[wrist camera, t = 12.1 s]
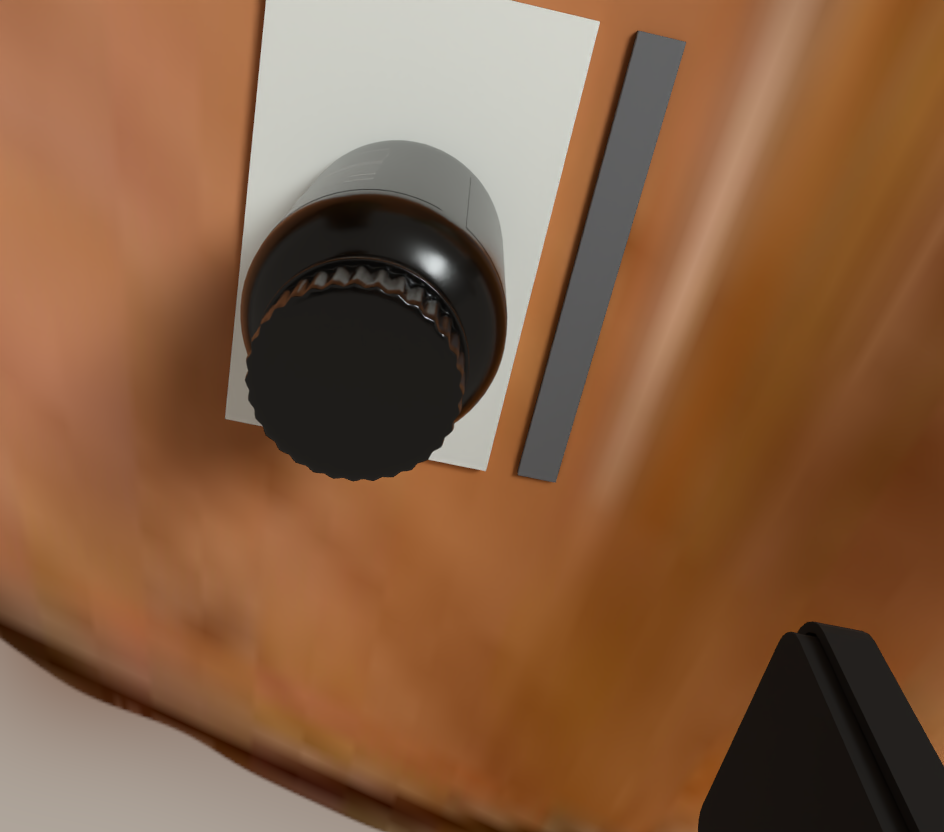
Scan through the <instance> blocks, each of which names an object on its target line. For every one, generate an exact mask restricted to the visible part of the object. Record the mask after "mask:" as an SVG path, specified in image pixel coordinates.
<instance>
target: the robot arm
mask: <svg viewBox="0 0 944 832" xmlns="http://www.w3.org/2000/svg"><path fill="white" fill-rule="evenodd" d="M698 832H944V766H943V764H942V762H941V761H940V759H939V757H938V755H937V753H936V752H935V750H934V748H933V746H932V744H931V742H930V741H929V739H928V737H927V735H926V733H925V732H924V730H923V728H922V726H921V724H920V723H919V721H918V719H917V717H916V715H915V714H914V712H913V710H912V708H911V706H910V704H909V703H908V701H907V699H906V697H905V695H904V694H903V692H902V690H901V688H900V686H899V685H898V683H897V681H896V679H895V677H894V676H893V674H892V672H891V670H890V668H889V666H888V665H887V663H886V661H885V659H884V657H883V656H882V654H881V652H880V650H879V648H878V647H877V645H876V643H875V641H874V640H873V639H872V637H871V636H870V635H869V634H867V633H865V632H863V631H859V630H854V629H849V628H844V627H839V626H833V625H828V624H823V623H818V622H807V623H806V624H804V625H803V626H802V627H801V628H800V629H799V631H798V633H795V632H787V633H786V634H785V635H783V636H782V638H781V640H780V641H779V643H778V645H777V647H776V649H775V652H774V654H773V656H772V658H771V660H770V662H769V664H768V667H767V669H766V671H765V673H764V675H763V677H762V679H761V682H760V684H759V686H758V688H757V690H756V692H755V694H754V696H753V699H752V701H751V703H750V705H749V707H748V709H747V711H746V714H745V716H744V718H743V720H742V722H741V724H740V726H739V728H738V731H737V733H736V735H735V737H734V739H733V741H732V743H731V746H730V748H729V750H728V752H727V754H726V756H725V758H724V761H723V763H722V765H721V767H720V769H719V771H718V773H717V775H716V778H715V780H714V782H713V784H712V786H711V788H710V790H709V793H708V795H707V797H706V799H705V801H704V803H703V806H702V808H701V811H700V816H699V824H698Z"/></svg>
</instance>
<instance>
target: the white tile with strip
mask: <svg viewBox="0 0 944 832" xmlns="http://www.w3.org/2000/svg"><path fill="white" fill-rule="evenodd" d="M599 24H600V22H599V21H595V20H591V19H587V18H583V17H579V16H574V15H570V14H566V13H562V12H557V11H553V10H549V9H545V8H541V7H536V6H532V5H528V4H524V3H520V2H515V1H511V0H266V6H265V16H264V26H263V36H262V47H261V57H260V67H259V77H258V87H257V98H256V108H255V118H254V128H253V138H252V149H251V159H250V169H249V179H248V189H247V200H246V210H245V220H244V230H243V240H242V250H241V261H240V271H239V281H238V291H237V301H236V312H235V322H234V332H233V342H232V352H231V363H230V373H229V383H228V393H227V403H226V414H225V419H228V420H233V421H238V422H243V423H248V424H253V425H258V426H262V425H261V424H260V423H259V422H258V421H257V420H256V419H255V414H254V412H255V411H254V408H253V406H252V405H251V404H250V402H249V401H248V394H249V389H248V387H247V385H246V382H245V377H246V374H247V372H248V369H247V364H246V357H247V352H246V348H245V345H244V341H243V336H242V331H241V321H240V305H241V296H242V290H243V285H244V281H245V278H246V275H247V272H248V269H249V267H250V265H251V263H252V260H253V258H254V257H255V255H256V253H257V251H258V250H259V248H260V246H261V245H262V243H263V242H264V240H265V239H266V238H267V236H268V235H269V234H270V232H271V231H272V230H273V229H274V227H275V226H276V225H277V224H278V223H279V222H280V220H281V219H282V218H283V217H284V216H285V215H286V213H287V212H288V211H289V210H290V209H291V208H292V206H293V205H294V204H295V203H296V202H297V201H298V200H299V198H300V197H301V196H302V195H303V194H304V193H305V191H306V190H307V189H308V188H309V187H310V186H311V184H312V183H313V182H314V181H315V180H316V179H317V178H318V177H319V176H320V174H321V173H322V172H324V170H325V169H326V168H327V167H329V166H330V165H331V164H332V163H333V162H334V161H336V160H337V159H339V158H340V157H342V156H343V155H345V154H347V153H348V152H350V151H352V150H354V149H357V148H359V147H361V146H364V145H367V144H371V143H375V142H380V141H389V140H405V141H413V142H418V143H423V144H426V145H429V146H432V147H435V148H437V149H440V150H442V151H444V152H446V153H447V154H449V155H451V156H453V157H454V158H456V159H457V160H458V161H460V162H461V163H463V164H464V165H465V166H466V167H467V168H468V169H469V170H470V171H471V172H472V173H473V174H474V175H475V176H476V177H477V178H478V179H479V181H480V182H481V183H482V185H483V186H484V188H485V189H486V191H487V192H488V194H489V196H490V198H491V200H492V202H493V204H494V207H495V209H496V212H497V215H498V218H499V222H500V227H501V233H502V239H503V253H504V269H505V286H506V302H507V335H506V342H505V349H504V353H503V357H502V361H501V363H500V366H499V369H498V371H497V374H496V376H495V378H494V380H493V382H492V383H491V385H490V387H489V388H488V390H487V391H486V393H485V394H484V396H483V397H482V398H481V399H480V401H479V402H478V403H477V404H476V405H475V406H474V407H473V408H472V410H471V411H470V412H468V413H467V414H466V415H465V416H464V417H463V418H461V419H460V420H459V421H457V422H456V423H454V429H453V431H452V432H451V433H450V434H449V435H448V436H446V437H445V439H444V442H443V445H442V447H441V448H439V449H437V450H435V451H433V452H432V454H431V456H430V457H429V459H428V460H433V461H438V462H443V463H448V464H453V465H458V466H463V467H468V468H473V469H478V470H483V471H486V469H487V465H488V461H489V457H490V453H491V449H492V445H493V441H494V437H495V433H496V429H497V425H498V421H499V417H500V413H501V410H502V406H503V402H504V398H505V394H506V390H507V386H508V382H509V378H510V374H511V370H512V366H513V362H514V358H515V354H516V350H517V347H518V343H519V339H520V335H521V331H522V327H523V323H524V319H525V315H526V311H527V307H528V303H529V299H530V295H531V291H532V288H533V284H534V280H535V276H536V272H537V268H538V264H539V260H540V256H541V252H542V248H543V244H544V240H545V236H546V232H547V228H548V225H549V221H550V217H551V213H552V209H553V205H554V201H555V197H556V193H557V189H558V185H559V181H560V177H561V173H562V169H563V165H564V162H565V158H566V154H567V150H568V146H569V142H570V138H571V134H572V130H573V126H574V122H575V118H576V114H577V110H578V106H579V102H580V99H581V95H582V91H583V87H584V83H585V79H586V75H587V71H588V67H589V63H590V59H591V55H592V51H593V47H594V43H595V39H596V36H597V32H598V28H599ZM685 44H686V42H684V41H679V40H675V39H671V38H667V37H663V36H658V35H654V34H650V33H646V32H642V31H637V34H636V38H635V42H634V45H633V49H632V53H631V56H630V60H629V64H628V67H627V71H626V75H625V78H624V82H623V86H622V89H621V93H620V97H619V100H618V104H617V108H616V111H615V115H614V119H613V122H612V126H611V130H610V133H609V137H608V141H607V144H606V148H605V152H604V155H603V159H602V163H601V166H600V170H599V174H598V177H597V181H596V185H595V189H594V192H593V196H592V200H591V203H590V207H589V211H588V214H587V218H586V222H585V225H584V229H583V233H582V236H581V240H580V244H579V247H578V251H577V255H576V258H575V262H574V266H573V269H572V273H571V277H570V280H569V284H568V288H567V291H566V295H565V299H564V302H563V306H562V310H561V313H560V317H559V321H558V324H557V328H556V332H555V335H554V339H553V343H552V346H551V350H550V354H549V357H548V361H547V365H546V368H545V372H544V376H543V379H542V383H541V387H540V390H539V394H538V398H537V401H536V405H535V409H534V412H533V416H532V420H531V423H530V427H529V431H528V434H527V438H526V442H525V445H524V449H523V453H522V456H521V460H520V464H519V467H518V471H517V472H518V475H520V476H525V477H530V478H535V479H540V480H545V481H550V482H556V479H557V476H558V472H559V469H560V466H561V462H562V459H563V455H564V452H565V449H566V445H567V442H568V439H569V435H570V432H571V429H572V425H573V422H574V418H575V415H576V412H577V408H578V405H579V402H580V398H581V395H582V391H583V388H584V385H585V381H586V378H587V375H588V371H589V368H590V364H591V361H592V358H593V354H594V351H595V348H596V344H597V341H598V338H599V334H600V331H601V327H602V324H603V321H604V317H605V314H606V311H607V307H608V304H609V300H610V297H611V294H612V290H613V287H614V284H615V280H616V277H617V274H618V270H619V267H620V263H621V260H622V257H623V253H624V250H625V247H626V243H627V240H628V236H629V233H630V230H631V226H632V223H633V220H634V216H635V213H636V210H637V206H638V203H639V199H640V196H641V193H642V189H643V186H644V183H645V179H646V176H647V172H648V169H649V166H650V162H651V159H652V156H653V152H654V149H655V145H656V142H657V139H658V135H659V132H660V129H661V125H662V122H663V119H664V115H665V112H666V108H667V105H668V102H669V98H670V95H671V92H672V88H673V85H674V81H675V78H676V75H677V71H678V68H679V65H680V61H681V58H682V55H683V51H684V48H685Z"/></svg>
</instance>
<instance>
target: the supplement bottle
mask: <svg viewBox="0 0 944 832" xmlns="http://www.w3.org/2000/svg"><path fill="white" fill-rule="evenodd" d="M240 321H241V331H242V336H243V341H244V345H245V348H246V352H247V357H246V364H247V369H248V372H247V374H246V377H245V382H246V385H247V387H248V389H249V394H248V401H249V402H250V404H251V405H252V406H253V408H254V411H255V412H254V414H255V419H256V420H257V421H258V422H259V423H260V424H261V425H262V426H263V429H264V432H265V434H266V436H267V437H269V438H270V439H272V440H273V441H275V443H276V445H277V447H278V448H279V450H280V451H282V452H284V453H286V454H289V455H290V456H291V457H292V459H293V460H294V461H295V462H296V463H299V464H302V465H306V466H307V467H308V468H309V469H310V470H312V471H313V472H316V473H324V474H326V475H328V476H329V477H331V478H333V479H335V478H345V479H348V480H351V481H358V480H360V479H366V480H371V481H375V480H377V479H379V478H381V477H394V476H396V475H397V474H398V473H400V472H402V471H409V470H412V469H413V468H414V467H415V466H416V464H417V463H420V462H424V461H426V460H428V459H429V457H430V456H431V454H432V452H433V451H435V450H437V449H439V448H441V447H442V445H443V442H444V439H445V437H446V436H448V435H449V434H450V433H451V432H452V431H453V429H454V423H456V422H457V421H459V420H460V419H461V418H463V417H464V416H465V415H466V414H467V413H468V412H470V411H471V410H472V408H473V407H474V406H475V405H476V404H477V403H478V402H479V401H480V399H481V398H482V397H483V396H484V394H485V393H486V391H487V390H488V388H489V387H490V385H491V383H492V382H493V380H494V378H495V376H496V374H497V371H498V369H499V366H500V363H501V361H502V357H503V353H504V349H505V342H506V335H507V302H506V286H505V269H504V253H503V239H502V233H501V227H500V222H499V218H498V215H497V212H496V209H495V207H494V204H493V202H492V200H491V198H490V196H489V194H488V192H487V191H486V189H485V188H484V186H483V185H482V183H481V182H480V181H479V179H478V178H477V177H476V176H475V175H474V174H473V173H472V172H471V171H470V170H469V169H468V168H467V167H466V166H465V165H464V164H463V163H461V162H460V161H458V160H457V159H456V158H454V157H453V156H451V155H449V154H447V153H446V152H444V151H442V150H440V149H437V148H435V147H432V146H429V145H426V144H423V143H418V142H413V141H405V140H389V141H380V142H375V143H371V144H367V145H364V146H361V147H359V148H357V149H354V150H352V151H350V152H348V153H347V154H345V155H343V156H342V157H340V158H339V159H337V160H336V161H334V162H333V163H332V164H331V165H330V166H329V167H327V168H326V169H325V170H324V172H322V173H321V174H320V176H319V177H318V178H317V179H316V180H315V181H314V182H313V183H312V184H311V186H310V187H309V188H308V189H307V190H306V191H305V193H304V194H303V195H302V196H301V197H300V198H299V200H298V201H297V202H296V203H295V204H294V205H293V206H292V208H291V209H290V210H289V211H288V212H287V213H286V215H285V216H284V217H283V218H282V219H281V220H280V222H279V223H278V224H277V225H276V226H275V227H274V229H273V230H272V231H271V232H270V234H269V235H268V236H267V238H266V239H265V240H264V242H263V243H262V245H261V246H260V248H259V250H258V251H257V253H256V255H255V257H254V258H253V260H252V263H251V265H250V267H249V269H248V272H247V275H246V278H245V281H244V285H243V290H242V296H241V305H240Z"/></svg>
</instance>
